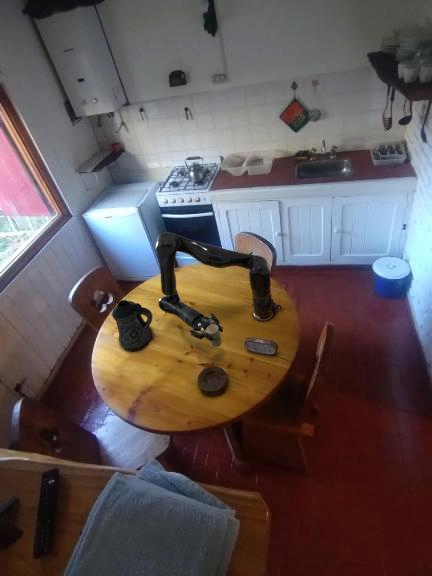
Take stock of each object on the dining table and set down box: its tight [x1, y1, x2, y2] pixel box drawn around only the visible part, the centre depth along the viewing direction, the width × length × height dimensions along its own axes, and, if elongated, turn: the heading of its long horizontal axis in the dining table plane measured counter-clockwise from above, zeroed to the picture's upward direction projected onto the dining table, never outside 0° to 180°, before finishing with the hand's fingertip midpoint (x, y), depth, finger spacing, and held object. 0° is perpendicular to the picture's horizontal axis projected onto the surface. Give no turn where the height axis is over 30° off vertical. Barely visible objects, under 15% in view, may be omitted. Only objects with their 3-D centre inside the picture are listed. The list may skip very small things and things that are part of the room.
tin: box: [243, 336, 279, 356], centre depth 153 cm, size 15×3×8 cm, turn 71°
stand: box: [197, 365, 229, 397], centre depth 145 cm, size 12×12×4 cm
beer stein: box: [111, 299, 153, 352], centre depth 166 cm, size 16×19×25 cm
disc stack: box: [205, 324, 222, 348], centre depth 148 cm, size 5×5×9 cm
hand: (217, 334), depth 145 cm, fingers closed on disc stack, 5 cm apart
